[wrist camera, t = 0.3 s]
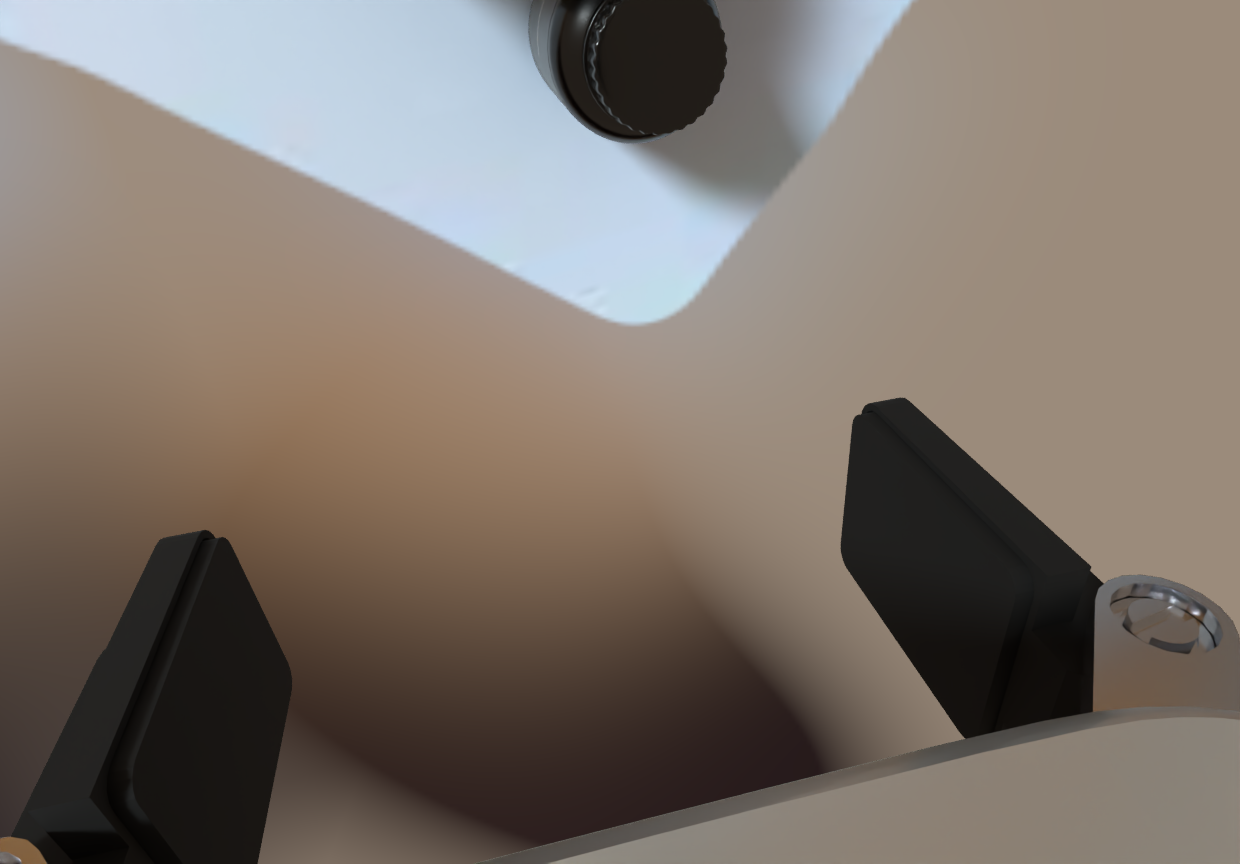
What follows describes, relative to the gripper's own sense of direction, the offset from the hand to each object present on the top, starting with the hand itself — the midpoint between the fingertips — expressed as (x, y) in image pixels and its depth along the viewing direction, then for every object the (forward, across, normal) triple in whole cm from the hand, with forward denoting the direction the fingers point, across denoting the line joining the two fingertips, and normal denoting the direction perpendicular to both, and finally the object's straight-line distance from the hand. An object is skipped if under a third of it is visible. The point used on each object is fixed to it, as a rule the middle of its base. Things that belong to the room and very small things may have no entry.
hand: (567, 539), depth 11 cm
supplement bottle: (+31, -7, -4) cm, 32 cm away
